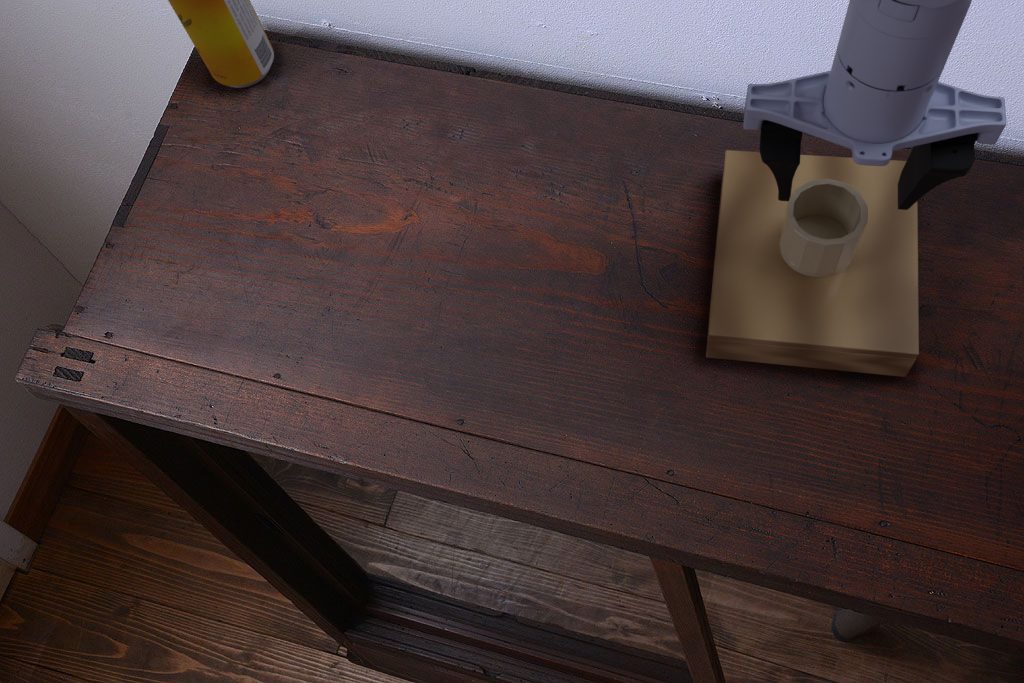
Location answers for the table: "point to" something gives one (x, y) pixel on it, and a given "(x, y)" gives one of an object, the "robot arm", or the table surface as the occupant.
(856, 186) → the square wooden board
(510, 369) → the table surface
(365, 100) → the table surface
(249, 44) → the beer can
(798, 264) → the ramekin
